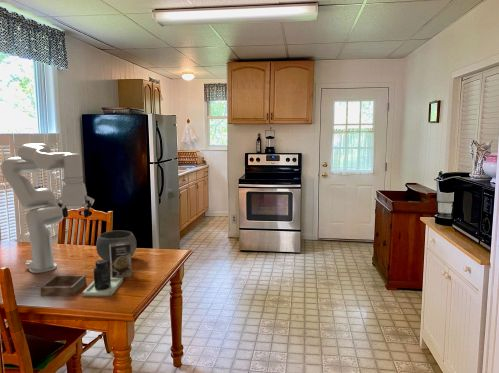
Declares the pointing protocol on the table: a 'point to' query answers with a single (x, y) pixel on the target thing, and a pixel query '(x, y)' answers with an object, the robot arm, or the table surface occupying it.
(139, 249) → the table surface
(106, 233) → the bowl
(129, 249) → the coffee box
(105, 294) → the tray
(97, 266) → the supplement bottle
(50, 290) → the holder
